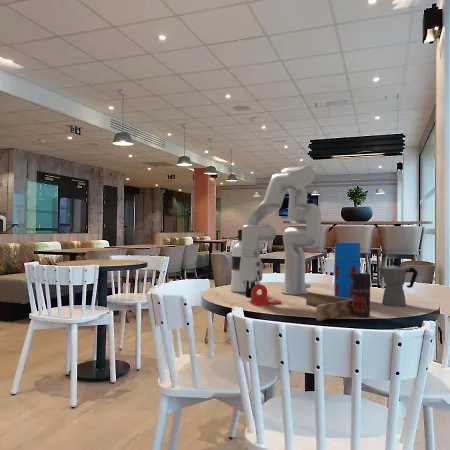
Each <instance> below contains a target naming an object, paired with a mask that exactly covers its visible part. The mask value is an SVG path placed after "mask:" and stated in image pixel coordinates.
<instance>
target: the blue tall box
mask: <svg viewBox="0 0 450 450" xmlns="http://www.w3.org/2000/svg"><path fill="white" fill-rule="evenodd" d="M353 273H361V243H360V242H349V241H343V242H342V241H337V242H335V243H334V281H333V282H334V287H333V288H334V289H333V290H334V291H333V292H334V294H333V295H334V296H337V297H343V298H349V299H353Z"/></svg>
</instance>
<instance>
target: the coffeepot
mask: <svg viewBox="0 0 450 450" xmlns="http://www.w3.org/2000/svg"><path fill="white" fill-rule="evenodd" d="M377 271H379V272H380V275H381V276H382V278H383V283H384V284H385V288H384V291H383V295H382V301H381V303H382V304H383V305H384V304H385V305H384V306H388V305H390V306H389V307H406V305H407V302H406V296H405V290H404V288H403V287H404V285H405V280H406V275H407V273H412V277H411V279H410V281H409V284H408V285H406V288H409V289H411V288H413V287H414V284H415V281H416V279H417V276H418V271H417V269H415V268H414V267H402V266H399V265H397V261H396V260H393V261H392V265H390V266H383V267H378V268H377Z"/></svg>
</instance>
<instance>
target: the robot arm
mask: <svg viewBox="0 0 450 450" xmlns="http://www.w3.org/2000/svg"><path fill="white" fill-rule="evenodd" d="M315 178H316V172H315V169H314V168H313V167H312V166H311V165H299V166H290V167H285V168H283V169H282V170H281V172H277V173H274V174H272V176H271V177H270V180H269V182H268V186H267V189H266V191H265V194H264V198H263V199H262V201H261V203H260V204H259V205H257V207H256V208H255V209H253V211H251V213H250V215H249V216H248V219H247V222H246V224H243V225H242V228H241V230H242V257H241V260H240V270H239V276H240V279H241V282H242V283H244V285H245V288H246V292H245V298H247V299H251V291H252V288H253V287H254V286H255V285H257V284H261V281H262V280H263V263H262V258H261V257H260V255H261V252H260V245H261V244H260V243H269V242H272V241H274V240H275V238H276V236H277V230H276V229H275V228H274V226H272V225H271V224H261V223H262V221H263V220H265V218H267V217H268V216H271V215H272V214H275V212H277V211H279V210H280V209H281V208H282V205H283V203H284V200H285V196H286V193H287V192H288V195H289V196H288V211H287V212H288V213H287V218H288V221H289V223H291V224H295V225H306V226H291V227H287V228H286V229H285V230H284V231H283V234H282V240H283V246H284V288H282V289H281V291H280V293H282V294H283V295H292V296H302V295H303V296H304V295H306V292H309V291H308V290H307V289H310V288H311V284H310V283H306V279H305V278H306V255H305V253H304V250H303V248H315V247H317V245H318V244H319V242H320V237H321V235H320V234H321V223H322V222H321V221H322V212H321V209H320V207H319V205H317V204H315V203H308V193H307V190H306V188H305V187H306V186H308V185H310V184H312V183H313V182H314V180H315Z"/></svg>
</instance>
